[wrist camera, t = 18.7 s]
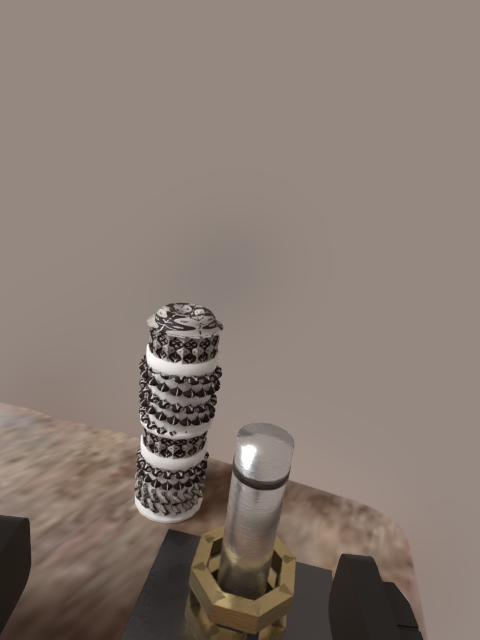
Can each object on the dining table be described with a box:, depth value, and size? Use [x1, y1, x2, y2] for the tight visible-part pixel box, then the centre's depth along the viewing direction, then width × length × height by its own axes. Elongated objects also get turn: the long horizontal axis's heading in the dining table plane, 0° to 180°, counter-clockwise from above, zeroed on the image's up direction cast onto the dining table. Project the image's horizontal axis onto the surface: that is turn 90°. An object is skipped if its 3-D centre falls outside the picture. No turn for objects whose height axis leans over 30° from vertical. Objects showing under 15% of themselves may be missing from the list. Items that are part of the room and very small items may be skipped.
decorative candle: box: [135, 303, 223, 524], centre depth 49 cm, size 9×9×25 cm
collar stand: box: [120, 524, 333, 640], centre depth 38 cm, size 18×14×8 cm
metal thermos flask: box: [217, 423, 294, 633], centre depth 36 cm, size 4×4×19 cm
